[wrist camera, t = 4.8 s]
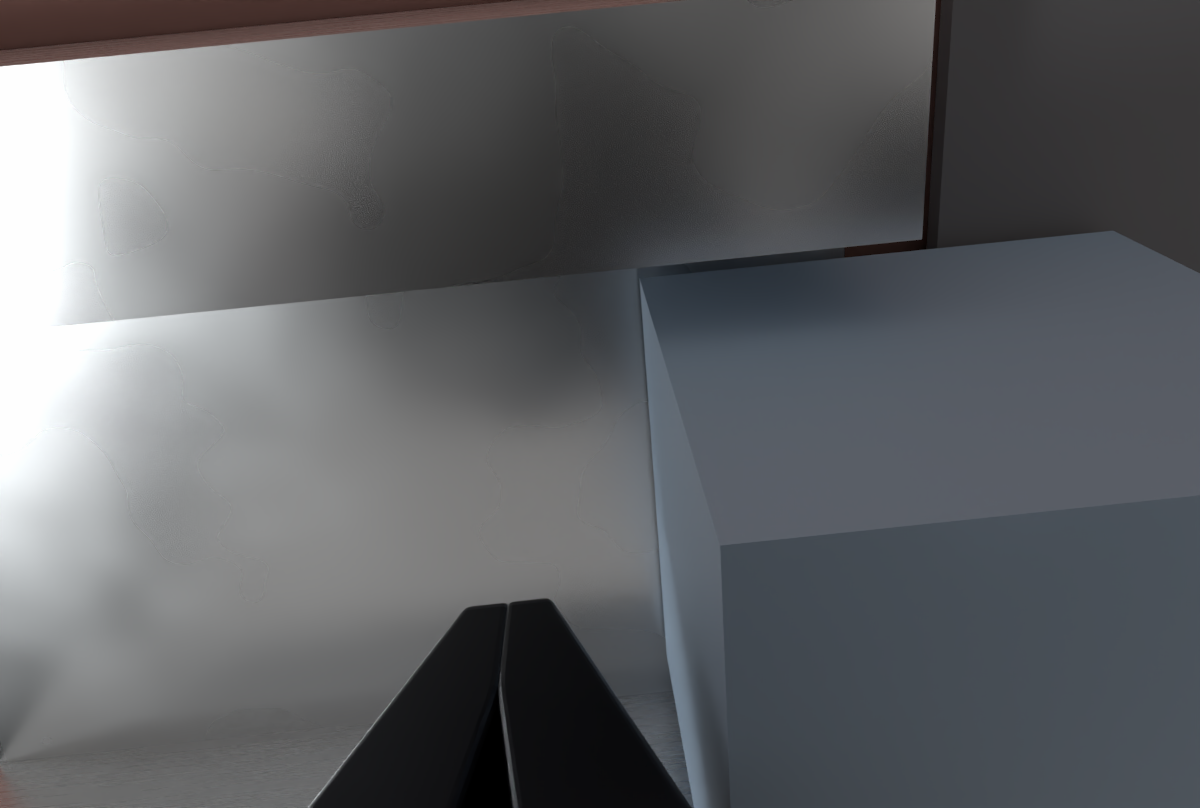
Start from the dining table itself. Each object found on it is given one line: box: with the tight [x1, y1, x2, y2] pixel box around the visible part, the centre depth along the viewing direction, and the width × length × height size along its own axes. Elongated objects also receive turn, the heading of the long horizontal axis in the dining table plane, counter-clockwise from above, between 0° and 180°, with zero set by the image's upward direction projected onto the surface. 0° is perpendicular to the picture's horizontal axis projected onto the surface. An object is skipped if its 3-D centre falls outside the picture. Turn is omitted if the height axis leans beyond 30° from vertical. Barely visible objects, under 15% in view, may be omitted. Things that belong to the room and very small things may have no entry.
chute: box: [0, 0, 936, 808], centre depth 10 cm, size 11×10×2 cm
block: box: [640, 231, 1200, 808], centre depth 9 cm, size 5×5×5 cm
